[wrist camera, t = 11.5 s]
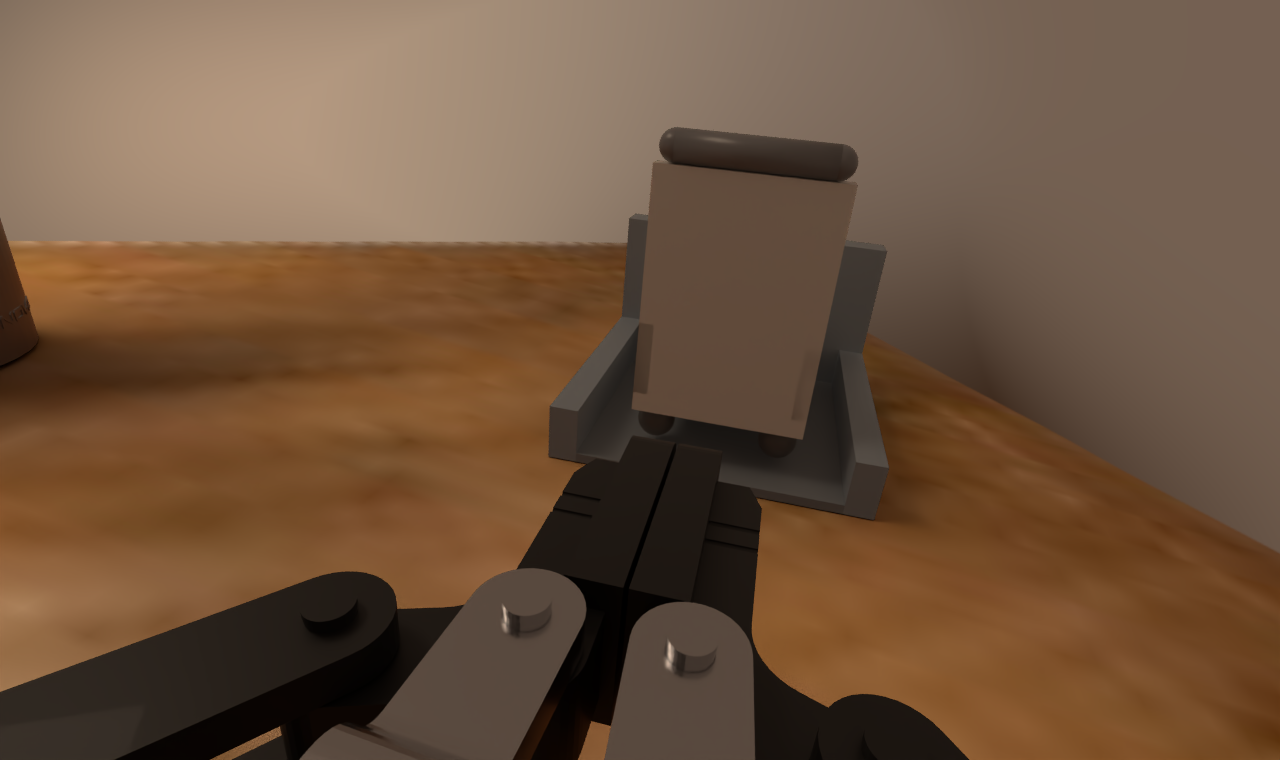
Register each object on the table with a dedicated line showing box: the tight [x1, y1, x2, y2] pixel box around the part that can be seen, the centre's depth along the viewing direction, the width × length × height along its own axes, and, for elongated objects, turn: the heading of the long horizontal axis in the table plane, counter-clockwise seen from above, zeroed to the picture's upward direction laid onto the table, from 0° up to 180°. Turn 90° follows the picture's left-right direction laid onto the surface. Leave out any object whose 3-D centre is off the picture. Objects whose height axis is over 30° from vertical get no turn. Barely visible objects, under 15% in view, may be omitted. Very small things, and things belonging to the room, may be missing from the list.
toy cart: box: [632, 127, 858, 458], centre depth 29 cm, size 7×10×13 cm
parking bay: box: [549, 214, 889, 520], centre depth 31 cm, size 13×14×8 cm
